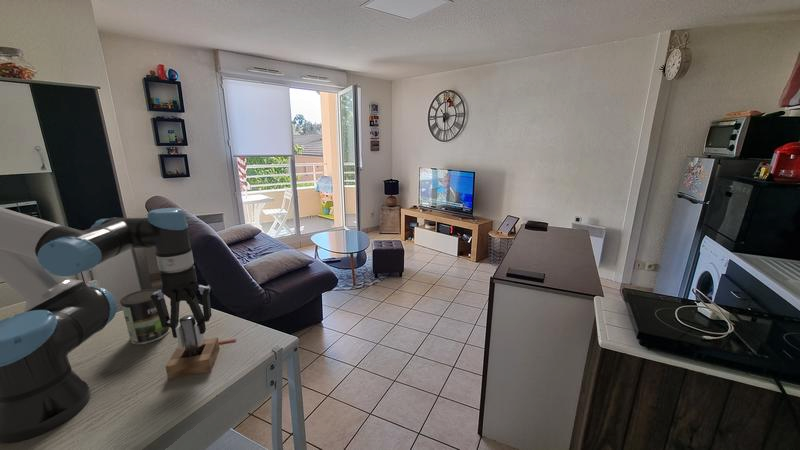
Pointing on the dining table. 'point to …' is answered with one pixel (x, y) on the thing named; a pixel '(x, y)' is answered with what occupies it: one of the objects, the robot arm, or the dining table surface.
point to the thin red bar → (227, 341)
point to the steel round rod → (190, 335)
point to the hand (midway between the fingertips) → (192, 344)
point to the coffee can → (142, 317)
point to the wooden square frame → (193, 360)
